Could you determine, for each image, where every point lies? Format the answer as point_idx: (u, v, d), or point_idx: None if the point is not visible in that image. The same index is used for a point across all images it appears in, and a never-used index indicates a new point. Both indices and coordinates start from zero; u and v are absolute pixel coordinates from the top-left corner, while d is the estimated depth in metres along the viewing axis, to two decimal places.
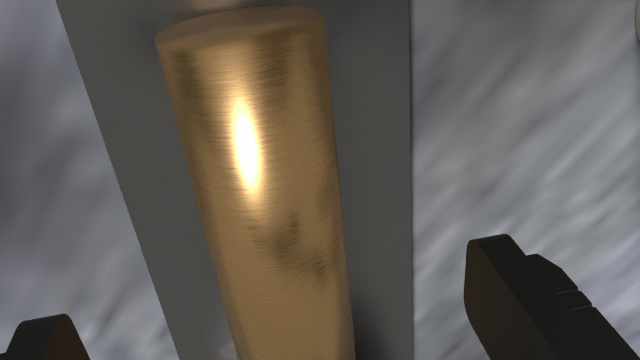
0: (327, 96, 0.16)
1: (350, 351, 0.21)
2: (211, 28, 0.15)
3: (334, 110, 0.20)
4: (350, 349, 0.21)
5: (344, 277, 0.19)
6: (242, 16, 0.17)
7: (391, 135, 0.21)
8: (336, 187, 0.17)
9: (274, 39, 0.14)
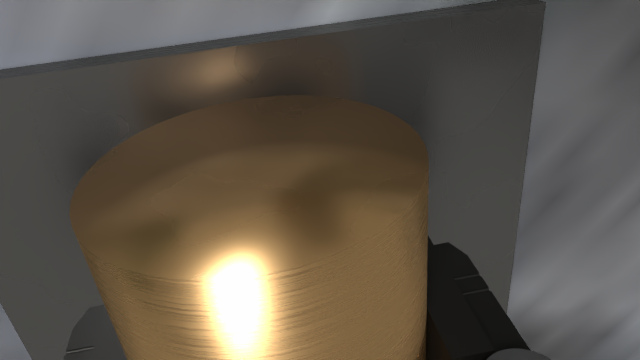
0: (426, 290, 0.08)
1: None
2: (191, 166, 0.08)
3: None
4: None
5: None
6: (249, 126, 0.09)
7: None
8: None
9: (346, 231, 0.06)
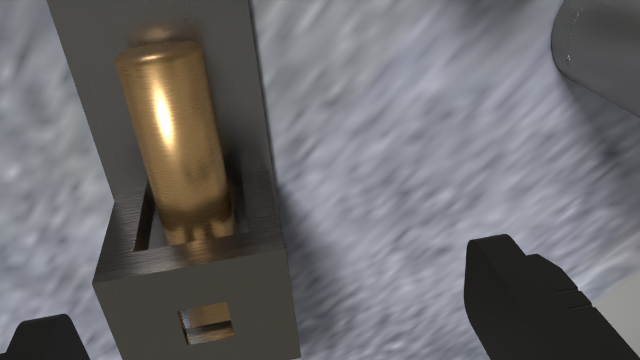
0: (204, 88, 0.31)
1: None
2: (143, 54, 0.31)
3: None
4: None
5: (224, 189, 0.35)
6: (160, 47, 0.32)
7: None
8: (214, 136, 0.33)
9: (172, 61, 0.29)
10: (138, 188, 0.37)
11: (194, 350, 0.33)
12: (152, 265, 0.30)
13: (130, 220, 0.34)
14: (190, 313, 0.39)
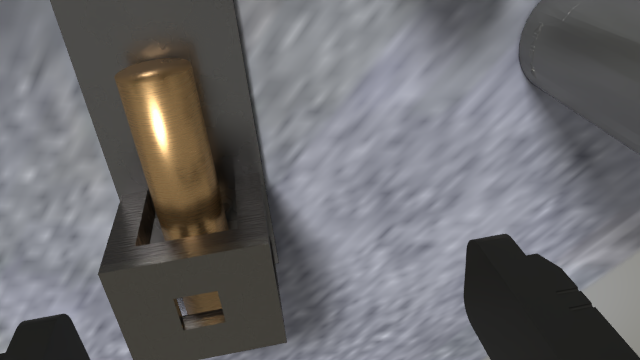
0: (193, 101, 0.35)
1: None
2: (140, 71, 0.35)
3: None
4: None
5: (213, 192, 0.38)
6: (157, 64, 0.36)
7: None
8: (203, 144, 0.37)
9: (162, 78, 0.33)
10: (141, 189, 0.41)
11: (189, 334, 0.37)
12: (151, 258, 0.34)
13: (133, 218, 0.38)
14: (185, 302, 0.43)
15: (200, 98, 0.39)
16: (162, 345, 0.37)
